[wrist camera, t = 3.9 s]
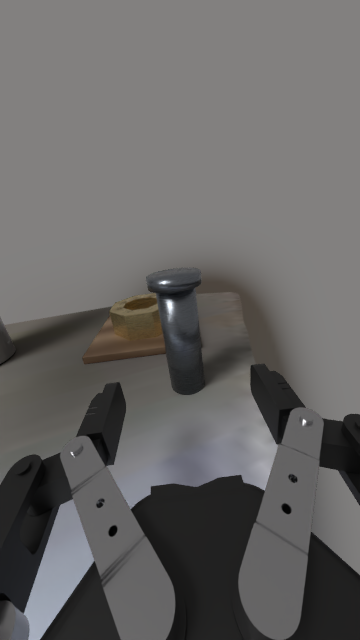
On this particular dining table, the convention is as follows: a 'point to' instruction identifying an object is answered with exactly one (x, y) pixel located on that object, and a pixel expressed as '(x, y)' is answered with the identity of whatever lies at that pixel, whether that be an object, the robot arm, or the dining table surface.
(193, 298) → the steel pin
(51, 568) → the dining table surface
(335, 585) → the robot arm
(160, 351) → the nut base
